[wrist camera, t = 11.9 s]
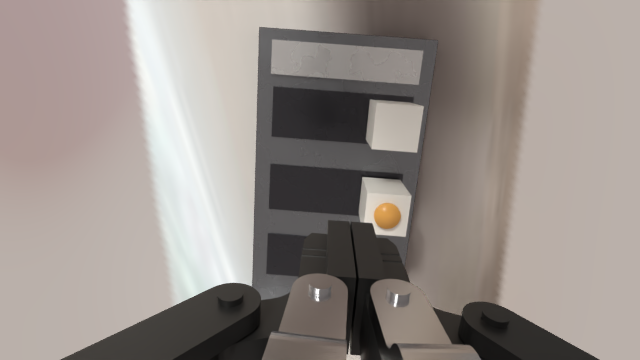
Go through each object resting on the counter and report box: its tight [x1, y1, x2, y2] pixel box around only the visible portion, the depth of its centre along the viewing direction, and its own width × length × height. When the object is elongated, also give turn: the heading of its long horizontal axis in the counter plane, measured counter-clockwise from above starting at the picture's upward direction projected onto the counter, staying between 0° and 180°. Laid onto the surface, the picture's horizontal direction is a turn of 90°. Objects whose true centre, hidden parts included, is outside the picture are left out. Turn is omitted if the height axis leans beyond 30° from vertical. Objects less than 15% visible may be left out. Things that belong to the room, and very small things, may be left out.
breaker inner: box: [366, 99, 424, 153], centre depth 26 cm, size 3×3×4 cm
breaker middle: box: [359, 177, 412, 237], centre depth 27 cm, size 3×3×4 cm
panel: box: [252, 27, 438, 300], centre depth 31 cm, size 24×13×2 cm, turn 176°
